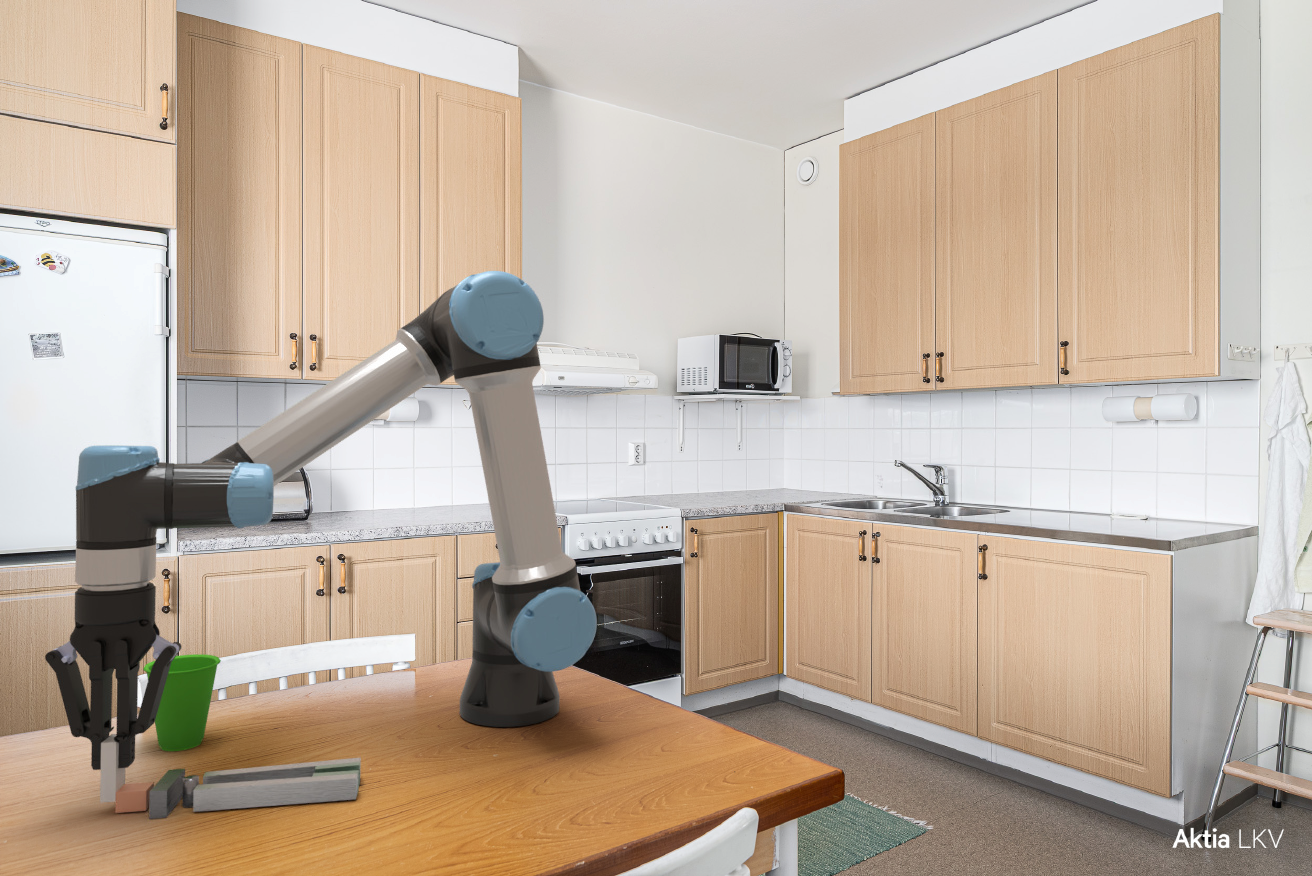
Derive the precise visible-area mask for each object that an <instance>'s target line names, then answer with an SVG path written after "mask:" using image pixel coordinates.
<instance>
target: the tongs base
mask: <svg viewBox="0 0 1312 876" xmlns="http://www.w3.org/2000/svg"><path fill="white" fill-rule="evenodd" d="M359 786H360V785H359V770H354V771H339V772H325V773H313V776H312V777H301V778H287V779H273V780H259V781H245V782H231V783H217V784H203V783H202V784H200V776H199V775H198V774H191V775H187V776H186V768H176V769H175V768H173V769H168V770H167V771H166V772H165V774H164V775H163V776H162V777H161V778H160V779H159V781H157V782H156V784H154V787H153V788H152V789H151V790H150V802H149V808H148V810H149V811H148V814H149V815H148V819H149V820H154V819H164V818H165V819H166V818H168V816H170V814H171V812H172V811H173V810H174V809H175V808H176V806H177V805H178V804H179V803H180V801H181V800H182V801H181V802H182V803H181V804H182V805H181V807H182V808H187V809H188V808H192V812H193V813H194V812H195V813H196V812H209V811H222V810H223V811H224V810H231V809H232V810H233V809H234V810H235V809H247V808H248V809H249V808H258V807H259V808H260V807H271V806H272V807H273V806H284V805H285V806H286V805H288V806H289V805H298V804H308V803H309V804H310V803H311V804H312V803H325V802H338V801H347V800H348V801H352V800H357V796H358V792H359Z"/></svg>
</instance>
